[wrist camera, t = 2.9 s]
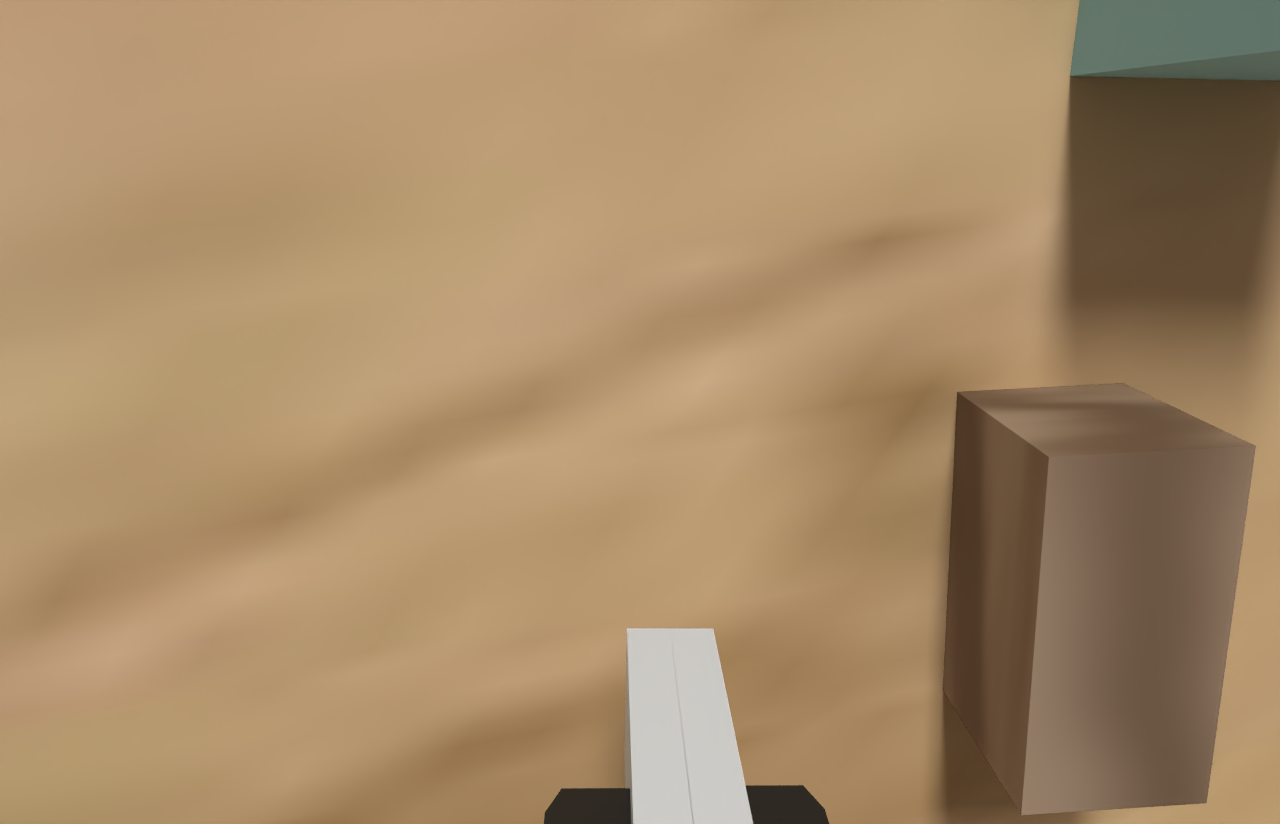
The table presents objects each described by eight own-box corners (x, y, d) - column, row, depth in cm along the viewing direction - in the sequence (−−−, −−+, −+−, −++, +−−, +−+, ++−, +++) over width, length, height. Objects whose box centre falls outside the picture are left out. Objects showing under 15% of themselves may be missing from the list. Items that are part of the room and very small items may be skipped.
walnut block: (941, 687, 26) (1021, 815, 21) (955, 390, 23) (1048, 457, 19) (1091, 677, 26) (1206, 802, 21) (1120, 381, 23) (1255, 446, 19)
